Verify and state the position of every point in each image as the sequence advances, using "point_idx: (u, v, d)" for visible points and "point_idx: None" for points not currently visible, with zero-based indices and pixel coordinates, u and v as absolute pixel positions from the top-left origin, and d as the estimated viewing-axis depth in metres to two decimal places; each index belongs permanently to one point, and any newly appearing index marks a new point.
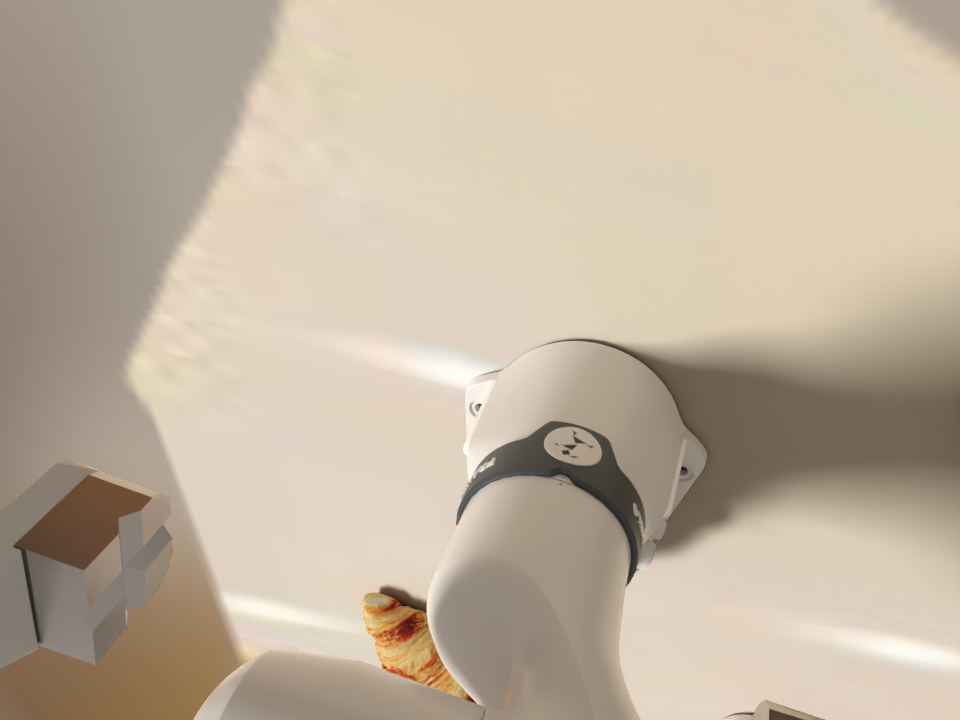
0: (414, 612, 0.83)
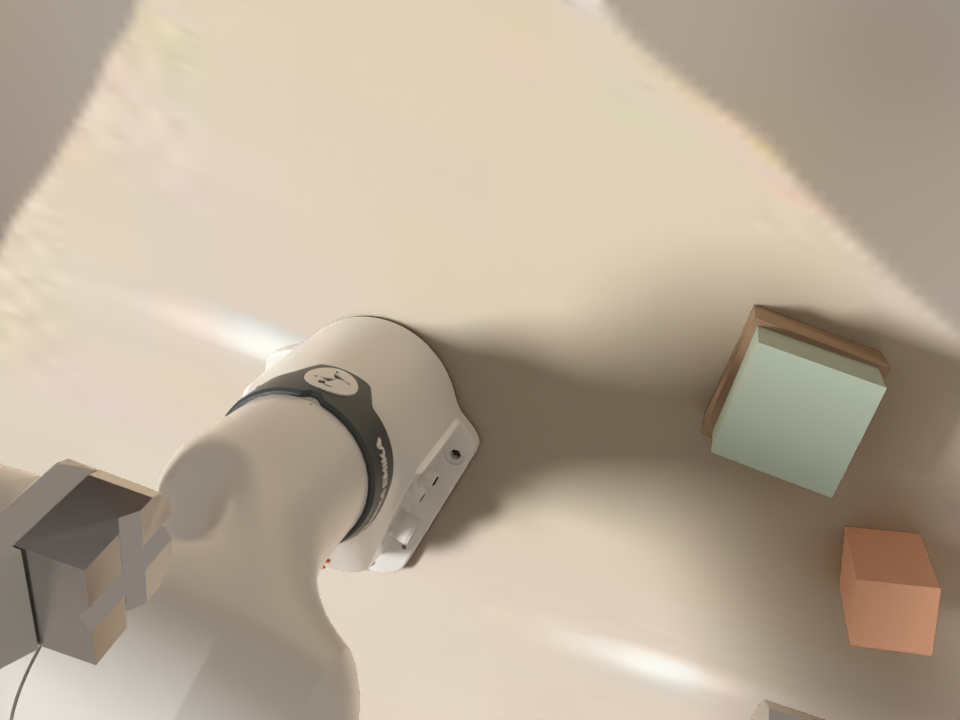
0: None
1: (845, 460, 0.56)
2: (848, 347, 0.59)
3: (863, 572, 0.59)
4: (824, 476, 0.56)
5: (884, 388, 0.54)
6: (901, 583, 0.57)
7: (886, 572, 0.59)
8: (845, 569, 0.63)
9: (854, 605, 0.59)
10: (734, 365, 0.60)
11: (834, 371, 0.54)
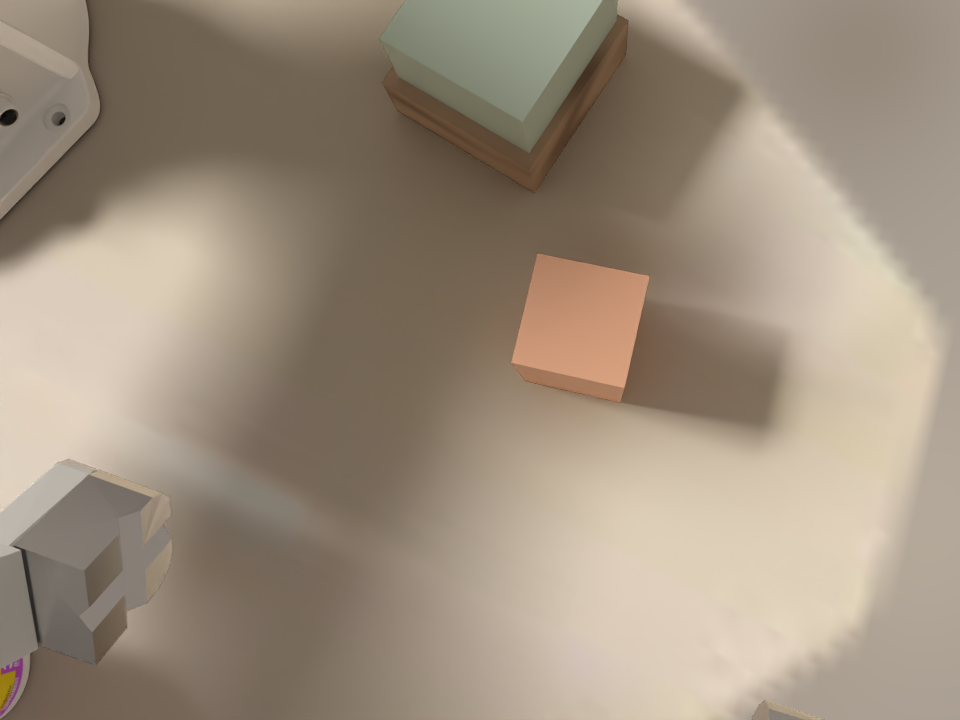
0: None
1: (550, 68, 0.40)
2: None
3: None
4: (518, 88, 0.40)
5: None
6: (596, 265, 0.39)
7: None
8: None
9: (528, 296, 0.39)
10: None
11: None
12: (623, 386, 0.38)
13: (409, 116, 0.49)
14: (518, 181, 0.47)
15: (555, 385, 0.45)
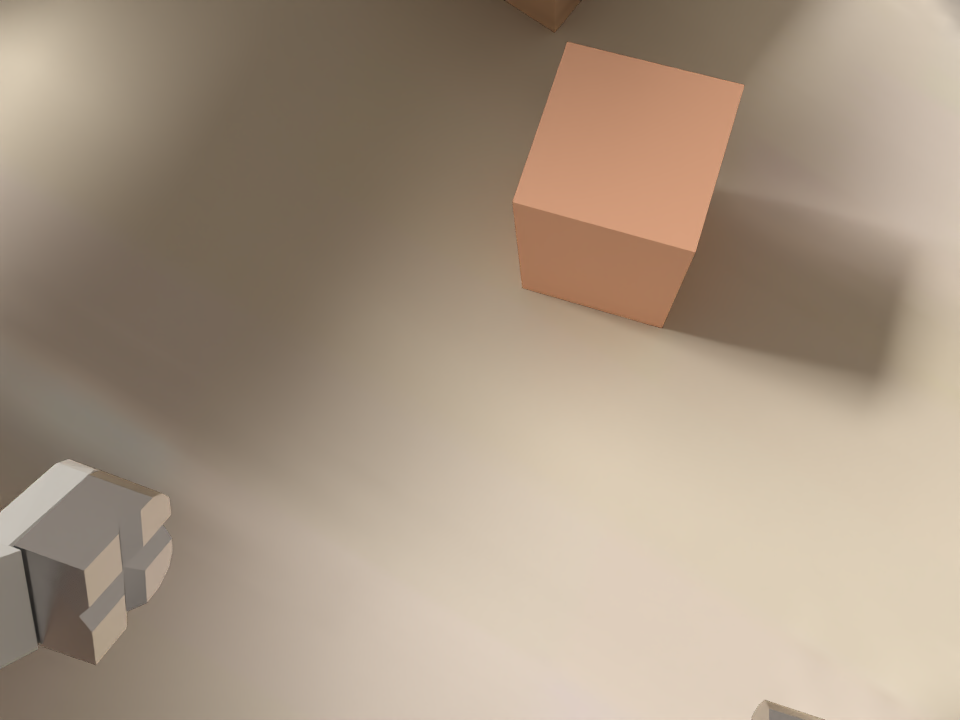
0: None
1: None
2: None
3: None
4: None
5: None
6: (660, 66, 0.25)
7: None
8: None
9: (547, 105, 0.24)
10: None
11: None
12: (693, 249, 0.23)
13: None
14: (533, 13, 0.33)
15: (568, 289, 0.30)
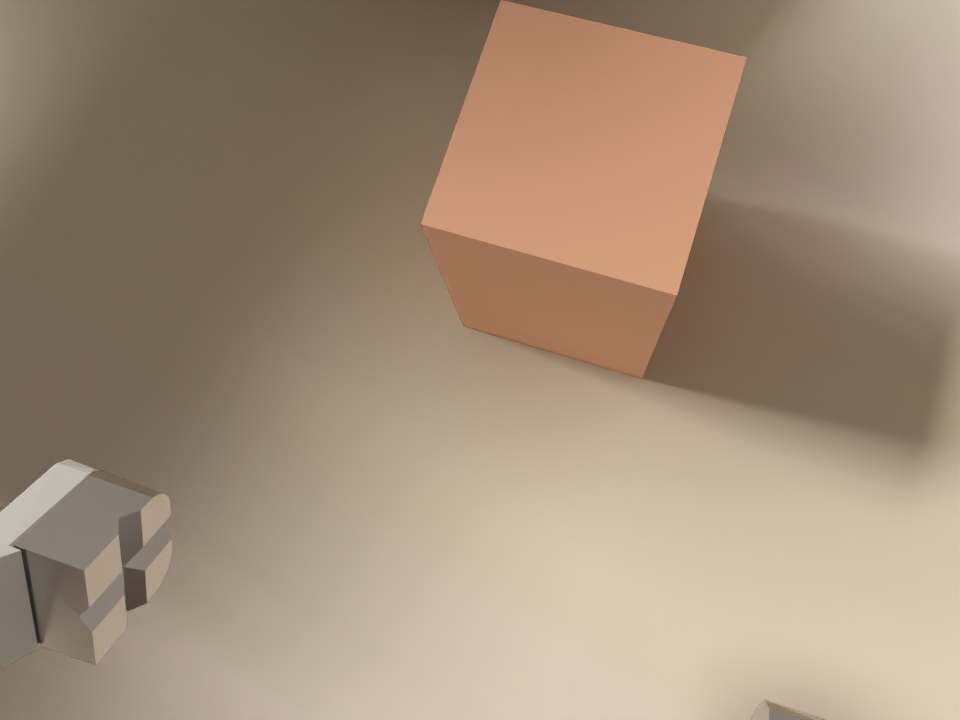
0: None
1: None
2: None
3: None
4: None
5: None
6: (628, 32, 0.18)
7: None
8: None
9: (472, 87, 0.18)
10: None
11: None
12: (674, 291, 0.16)
13: None
14: None
15: (519, 330, 0.23)
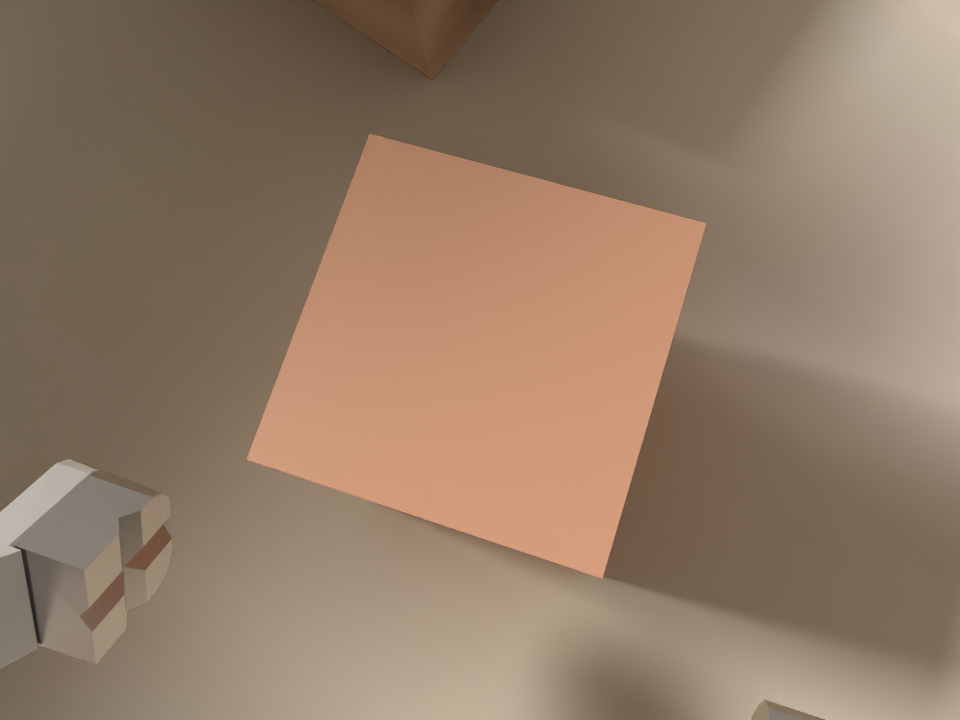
0: None
1: None
2: None
3: None
4: None
5: None
6: (544, 182, 0.13)
7: None
8: None
9: (326, 259, 0.13)
10: None
11: None
12: (599, 573, 0.11)
13: None
14: (397, 48, 0.21)
15: None
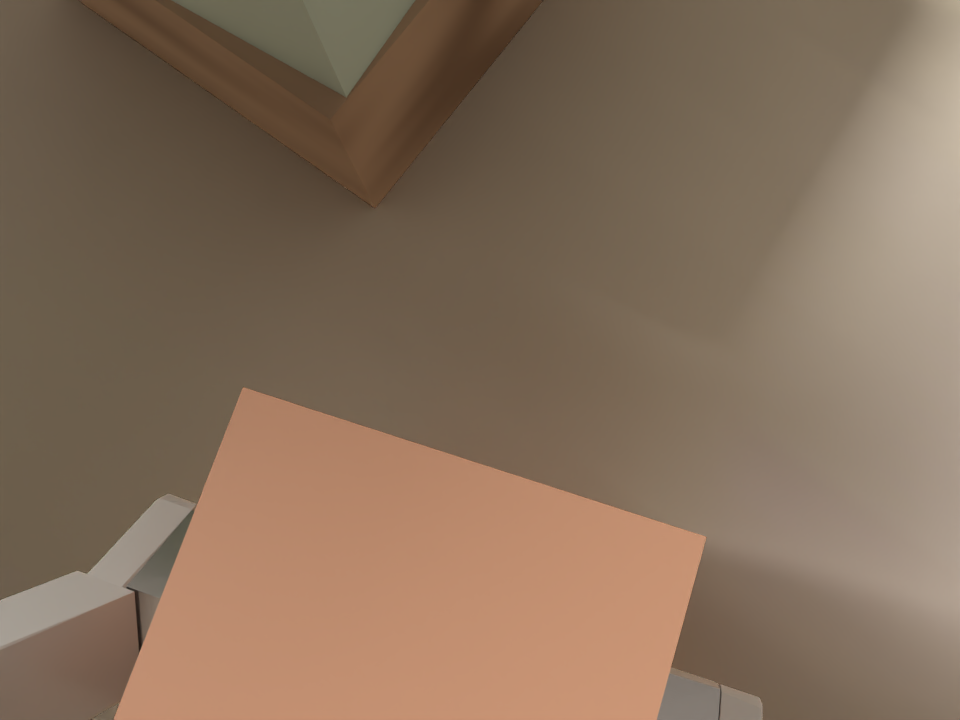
0: None
1: None
2: None
3: None
4: None
5: None
6: (481, 465, 0.09)
7: None
8: None
9: (178, 569, 0.09)
10: None
11: None
12: None
13: None
14: (333, 173, 0.18)
15: None
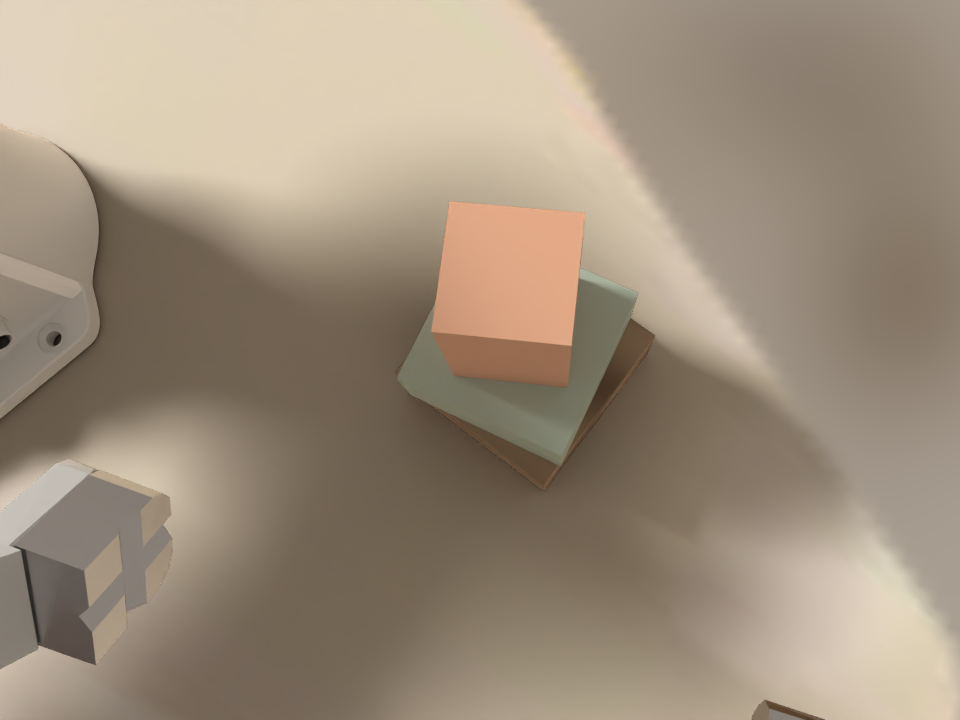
0: None
1: (582, 396, 0.38)
2: None
3: None
4: (551, 420, 0.38)
5: (635, 293, 0.39)
6: (521, 208, 0.33)
7: None
8: None
9: (443, 252, 0.32)
10: None
11: None
12: (570, 343, 0.31)
13: None
14: (528, 479, 0.45)
15: (489, 373, 0.38)
